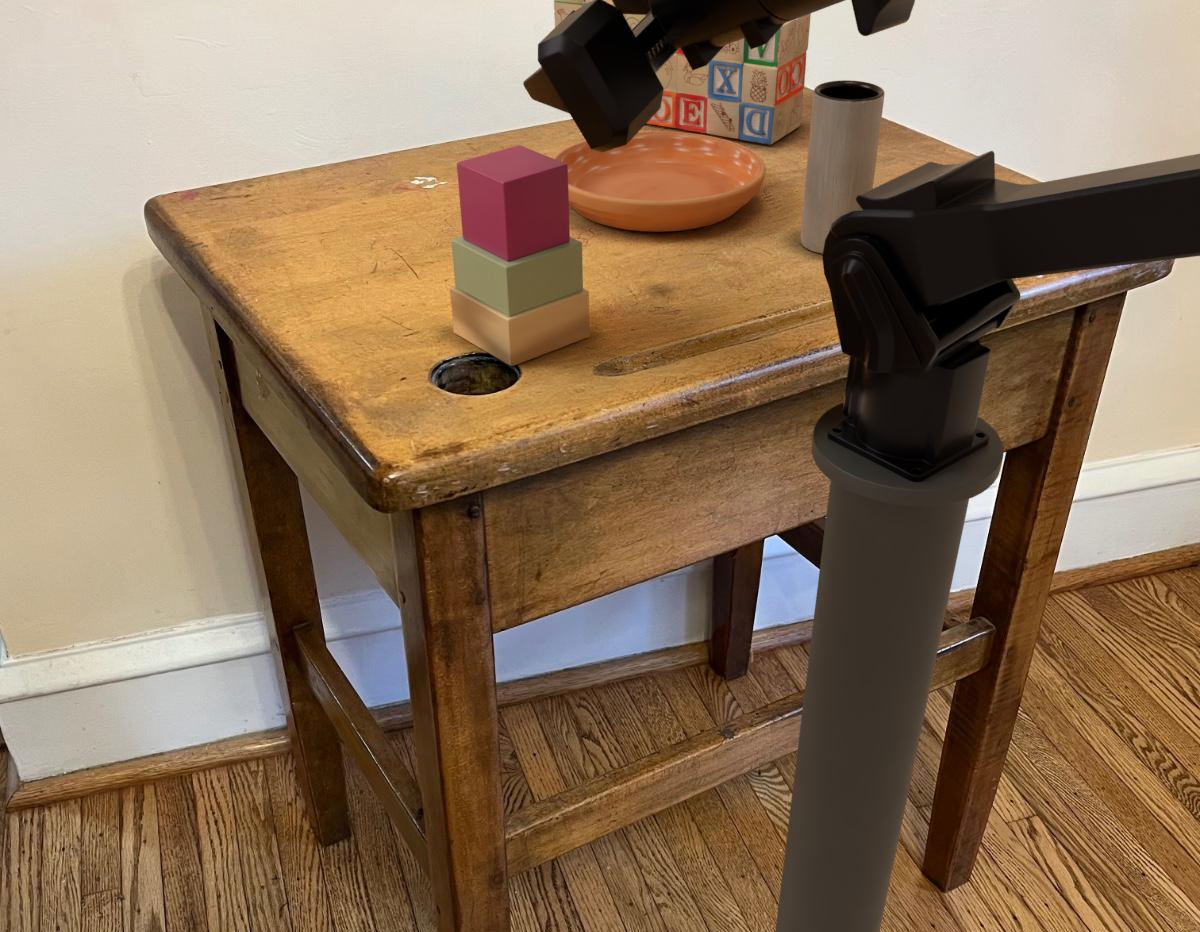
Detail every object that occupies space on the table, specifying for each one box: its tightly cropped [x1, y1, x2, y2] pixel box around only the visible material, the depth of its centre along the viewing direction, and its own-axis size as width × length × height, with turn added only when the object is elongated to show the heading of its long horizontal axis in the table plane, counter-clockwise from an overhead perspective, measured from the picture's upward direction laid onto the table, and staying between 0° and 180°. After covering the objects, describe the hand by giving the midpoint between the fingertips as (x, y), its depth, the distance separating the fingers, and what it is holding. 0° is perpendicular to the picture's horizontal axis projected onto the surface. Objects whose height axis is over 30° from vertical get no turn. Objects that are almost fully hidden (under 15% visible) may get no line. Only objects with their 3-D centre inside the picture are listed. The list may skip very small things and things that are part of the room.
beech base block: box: [449, 285, 591, 367], centre depth 75 cm, size 6×6×3 cm
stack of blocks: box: [553, 0, 812, 145], centre depth 105 cm, size 21×6×12 cm, turn 58°
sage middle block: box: [450, 235, 584, 316], centre depth 73 cm, size 6×6×3 cm
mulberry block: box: [456, 144, 571, 262], centre depth 71 cm, size 4×4×4 cm
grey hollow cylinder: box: [800, 79, 885, 255], centre depth 83 cm, size 4×4×10 cm
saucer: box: [553, 131, 767, 233], centre depth 92 cm, size 16×16×3 cm
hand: (573, 45), depth 72 cm, fingers open, 9 cm apart
